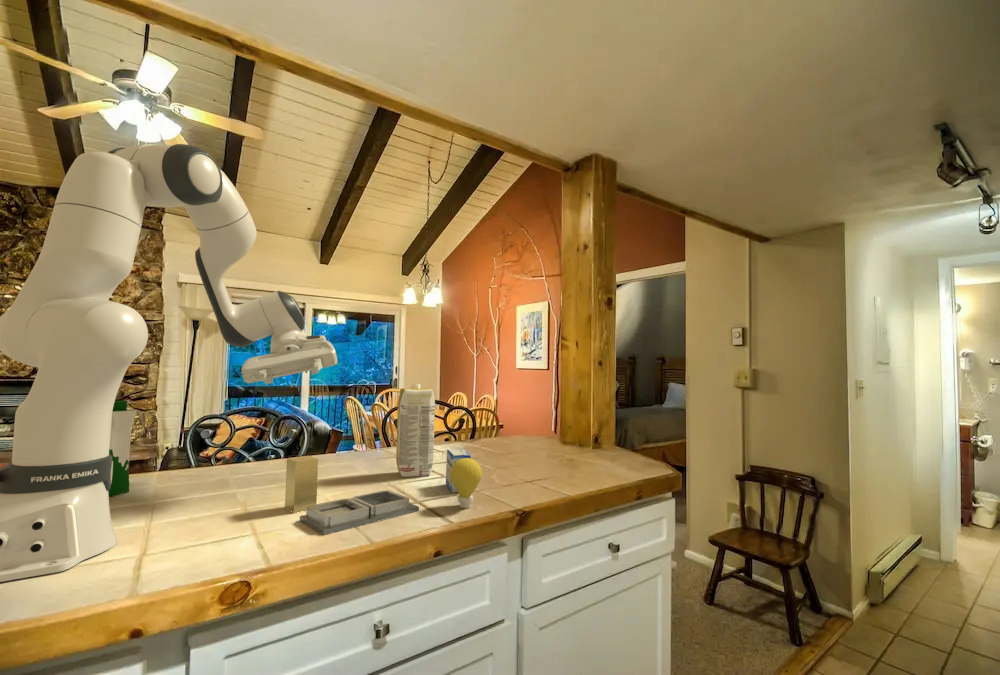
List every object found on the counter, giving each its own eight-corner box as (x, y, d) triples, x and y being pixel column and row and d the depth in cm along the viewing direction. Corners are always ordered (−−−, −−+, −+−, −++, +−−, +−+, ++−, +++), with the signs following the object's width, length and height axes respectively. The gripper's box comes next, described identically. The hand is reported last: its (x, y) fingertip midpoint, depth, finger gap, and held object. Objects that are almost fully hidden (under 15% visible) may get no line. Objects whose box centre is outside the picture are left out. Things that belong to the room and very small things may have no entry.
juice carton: (428, 469, 131) (430, 383, 132) (434, 476, 124) (437, 385, 125) (394, 471, 128) (397, 383, 129) (398, 478, 121) (401, 384, 122)
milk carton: (136, 491, 105) (141, 401, 106) (93, 502, 96) (99, 404, 97) (106, 487, 107) (111, 399, 108) (61, 498, 98) (67, 402, 99)
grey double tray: (323, 535, 81) (324, 519, 82) (299, 520, 88) (300, 506, 89) (418, 510, 96) (419, 497, 96) (391, 499, 103) (392, 487, 103)
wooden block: (293, 513, 92) (295, 462, 93) (284, 508, 96) (286, 458, 96) (316, 508, 96) (318, 459, 96) (306, 503, 99) (308, 455, 99)
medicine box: (445, 484, 116) (446, 449, 117) (463, 483, 118) (463, 448, 118) (451, 493, 109) (452, 455, 109) (470, 492, 110) (471, 454, 111)
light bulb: (476, 512, 95) (477, 462, 96) (445, 509, 97) (446, 460, 97) (484, 502, 102) (485, 456, 102) (454, 500, 103) (455, 454, 104)
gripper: (239, 350, 110) (235, 373, 98) (330, 333, 117) (336, 352, 106) (246, 374, 112) (243, 399, 101) (335, 356, 120) (341, 378, 108)
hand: (291, 375), depth 103 cm, fingers open, 8 cm apart
